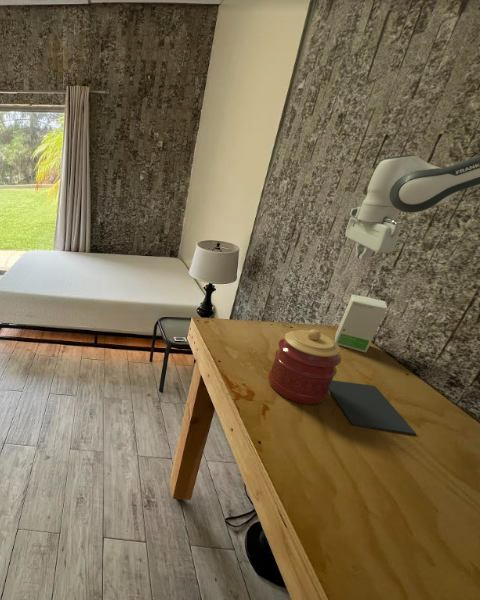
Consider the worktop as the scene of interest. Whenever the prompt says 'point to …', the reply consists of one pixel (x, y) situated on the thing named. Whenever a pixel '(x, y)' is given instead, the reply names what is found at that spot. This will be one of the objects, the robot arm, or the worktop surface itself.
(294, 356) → the kitchen canister
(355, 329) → the cosmetic box
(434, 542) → the worktop surface
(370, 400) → the felt mat
